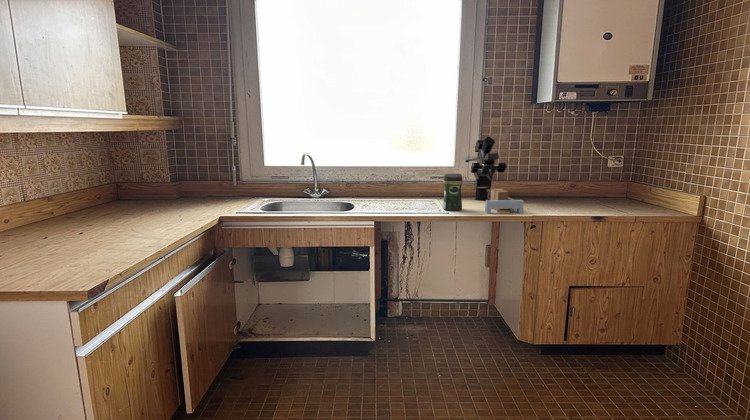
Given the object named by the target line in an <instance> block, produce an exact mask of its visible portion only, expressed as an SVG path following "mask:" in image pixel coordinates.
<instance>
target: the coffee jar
mask: <svg viewBox="0 0 750 420" xmlns="http://www.w3.org/2000/svg"><path fill="white" fill-rule="evenodd" d="M442 180H443V181H442V182H443V186H444V192H443V202H442V209H443V210H444V211H448V212H449V211H450V212H451V211H452V212H453V211H454V212H455V211H460V210H462V209H463V204H462V203H463V201H462V200H463V199H462V185H463V175H462V174H461V173H445V174H444V175H443V179H442Z"/></svg>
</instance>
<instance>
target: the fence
mask: <svg viewBox="0 0 750 420" xmlns="http://www.w3.org/2000/svg"><path fill="white" fill-rule="evenodd" d="M524 204H525V202H524V200H522V199H514V198H512V197H510V196H508V200H490V199H487V200H485V209H484V213H485V214H492V210H494V209H508V210H510V213H515V210H516V212H517V213H518V214H524Z"/></svg>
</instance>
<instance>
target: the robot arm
mask: <svg viewBox="0 0 750 420" xmlns="http://www.w3.org/2000/svg"><path fill="white" fill-rule="evenodd" d="M495 143H496V141H495V139H494V138H491V136H486V137H485V138H484V139H477V141H476V142H475V146H474V147H475V152H480V153H479V158H480V163H472V166H471V170H470V173H472V174H473V173H474V174H473V176H474V177H475V180H474V183H473V189H474V190H475V198H474V200H476V201H486V200H489V193H490V192H489V190H491V187H492V182H493V178H494V177H493V176H494V174H495V173H496V172H497V173H499V174H500V173H505V172H506V169H507V168H508V167H507V163H506V162H498V163H497V164H495V161H496V160H499V158H500V156H499V152H494V153H493V152H492V151H493V148H494V146H495ZM491 152H492V153H491Z"/></svg>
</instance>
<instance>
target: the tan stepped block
mask: <svg viewBox="0 0 750 420" xmlns="http://www.w3.org/2000/svg"><path fill="white" fill-rule="evenodd" d="M508 197H509V191H508V190H505V189H503V188H497V187H496V188H493V187H492V188H490V199H489V200H508ZM493 211H496V212H497V213H500V214H510V213H511V212H510V210H508V209H493Z"/></svg>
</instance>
